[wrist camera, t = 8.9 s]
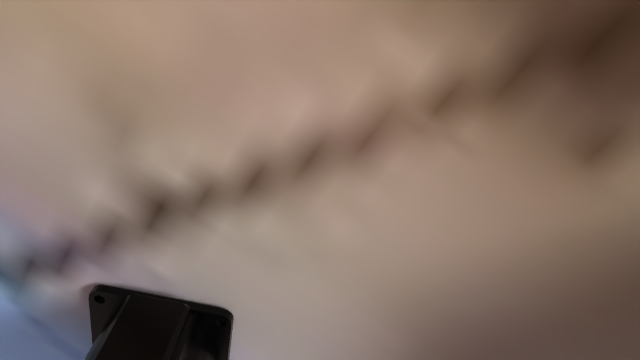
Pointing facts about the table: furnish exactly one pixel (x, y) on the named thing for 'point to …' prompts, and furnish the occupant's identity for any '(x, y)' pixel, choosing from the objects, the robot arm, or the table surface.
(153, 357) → the robot arm
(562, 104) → the table surface
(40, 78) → the table surface
